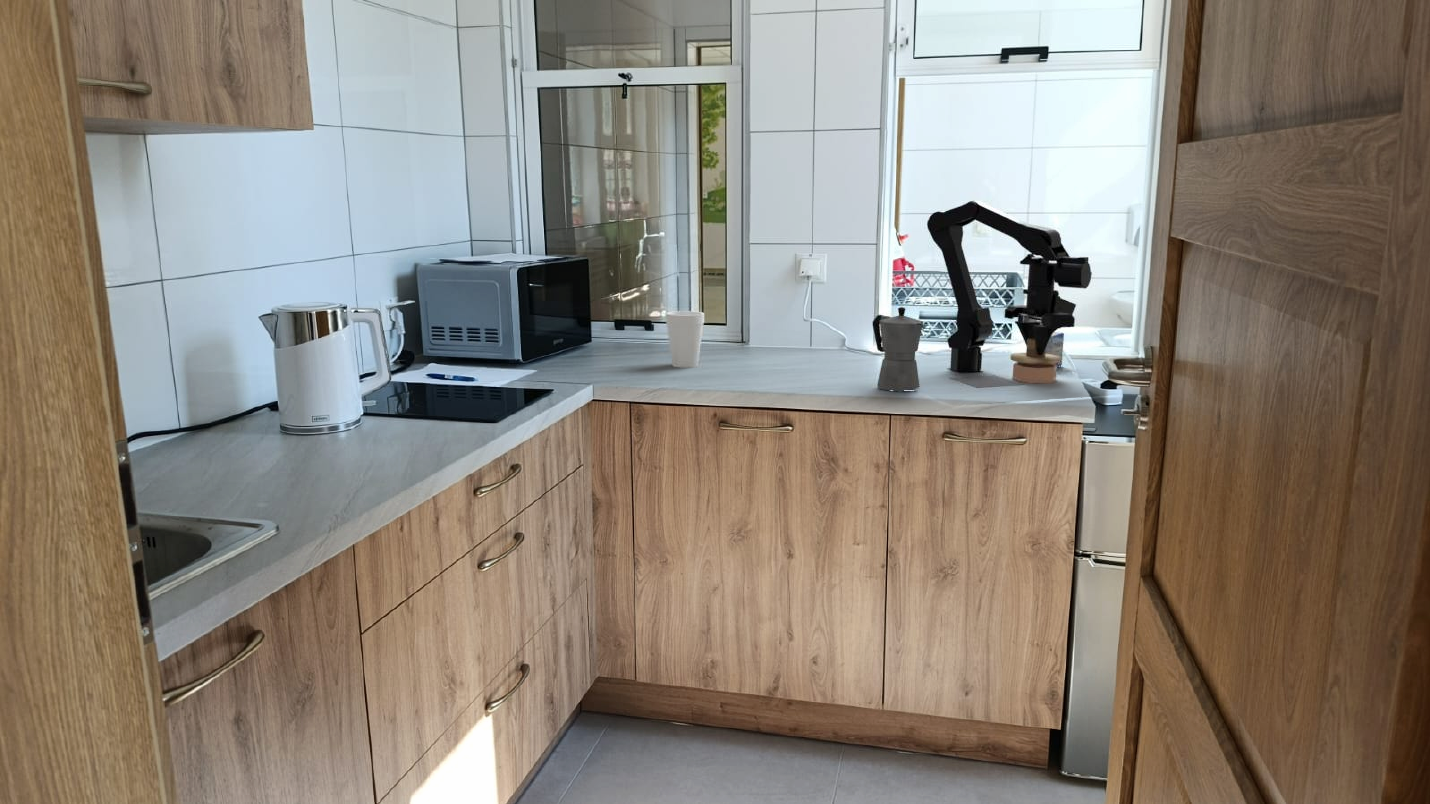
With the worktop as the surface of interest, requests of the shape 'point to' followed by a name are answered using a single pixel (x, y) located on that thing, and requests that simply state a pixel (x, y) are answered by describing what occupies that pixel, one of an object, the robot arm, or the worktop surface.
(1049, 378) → the bowl
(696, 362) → the foam cup
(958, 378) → the mat
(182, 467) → the worktop surface
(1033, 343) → the lid
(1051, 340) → the medicine box
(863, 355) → the worktop surface
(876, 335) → the coffeepot
